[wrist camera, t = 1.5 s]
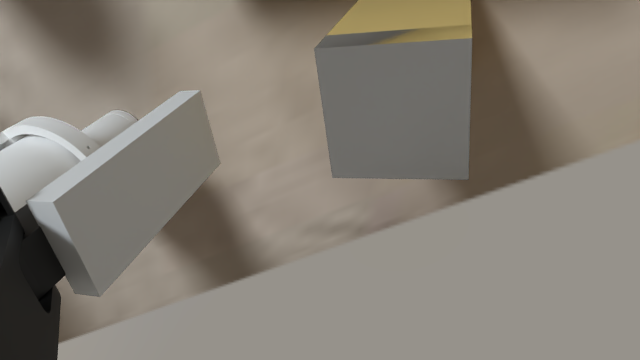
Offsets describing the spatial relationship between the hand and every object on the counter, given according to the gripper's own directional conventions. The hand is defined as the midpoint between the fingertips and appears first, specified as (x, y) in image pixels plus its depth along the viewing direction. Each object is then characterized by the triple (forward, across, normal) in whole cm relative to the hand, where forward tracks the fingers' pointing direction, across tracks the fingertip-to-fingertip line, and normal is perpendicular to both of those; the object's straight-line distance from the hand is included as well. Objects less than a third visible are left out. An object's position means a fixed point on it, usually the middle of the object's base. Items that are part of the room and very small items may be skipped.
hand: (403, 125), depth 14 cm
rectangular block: (+11, 0, 0) cm, 11 cm away
